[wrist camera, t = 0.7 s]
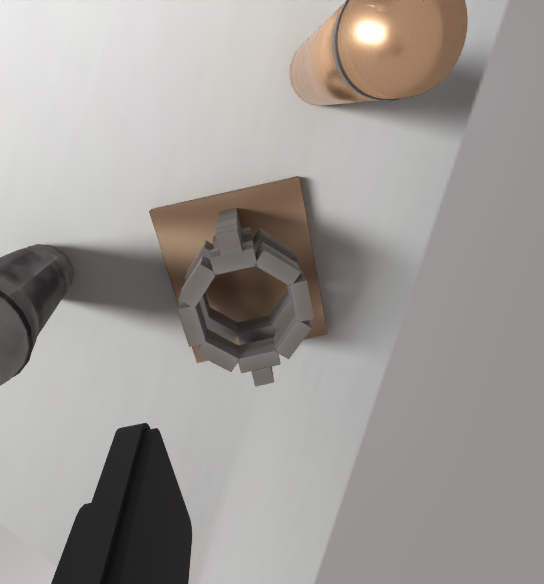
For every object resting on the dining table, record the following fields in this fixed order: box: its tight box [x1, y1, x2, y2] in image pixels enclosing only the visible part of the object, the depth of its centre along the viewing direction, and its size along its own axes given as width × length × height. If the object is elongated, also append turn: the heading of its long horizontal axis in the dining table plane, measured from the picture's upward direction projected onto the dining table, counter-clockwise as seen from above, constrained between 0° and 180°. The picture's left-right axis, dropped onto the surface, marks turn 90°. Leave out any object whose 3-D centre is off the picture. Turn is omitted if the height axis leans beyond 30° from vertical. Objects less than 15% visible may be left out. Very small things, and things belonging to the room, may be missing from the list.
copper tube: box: [290, 0, 467, 106], centre depth 25 cm, size 5×5×18 cm
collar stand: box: [149, 176, 327, 386], centre depth 34 cm, size 14×12×8 cm
